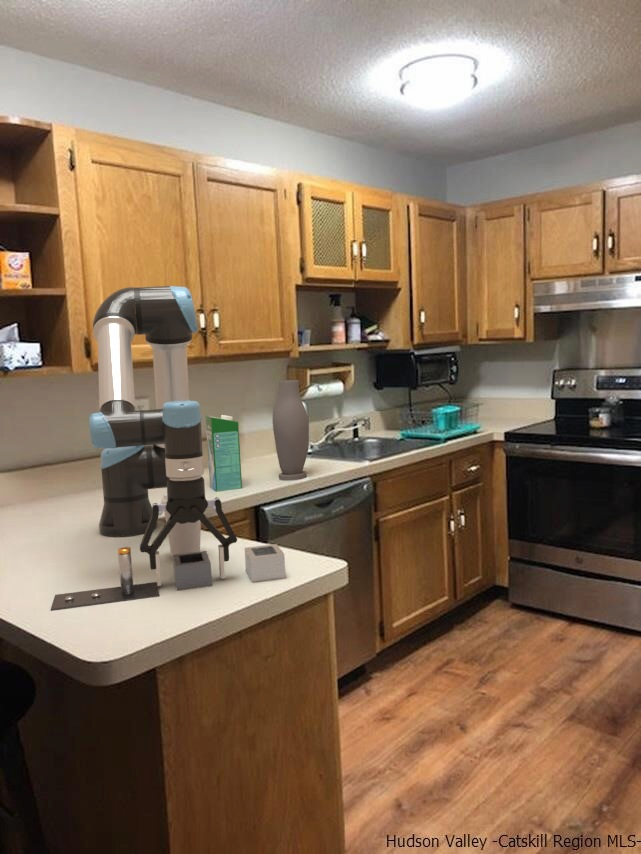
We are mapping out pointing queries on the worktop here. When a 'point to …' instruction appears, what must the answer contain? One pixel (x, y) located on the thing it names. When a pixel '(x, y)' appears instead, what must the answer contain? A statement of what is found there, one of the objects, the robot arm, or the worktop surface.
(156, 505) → the robot arm
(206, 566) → the grey hollow block
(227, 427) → the milk carton
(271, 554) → the link
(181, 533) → the coffee cup
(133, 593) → the keeper
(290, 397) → the vase
